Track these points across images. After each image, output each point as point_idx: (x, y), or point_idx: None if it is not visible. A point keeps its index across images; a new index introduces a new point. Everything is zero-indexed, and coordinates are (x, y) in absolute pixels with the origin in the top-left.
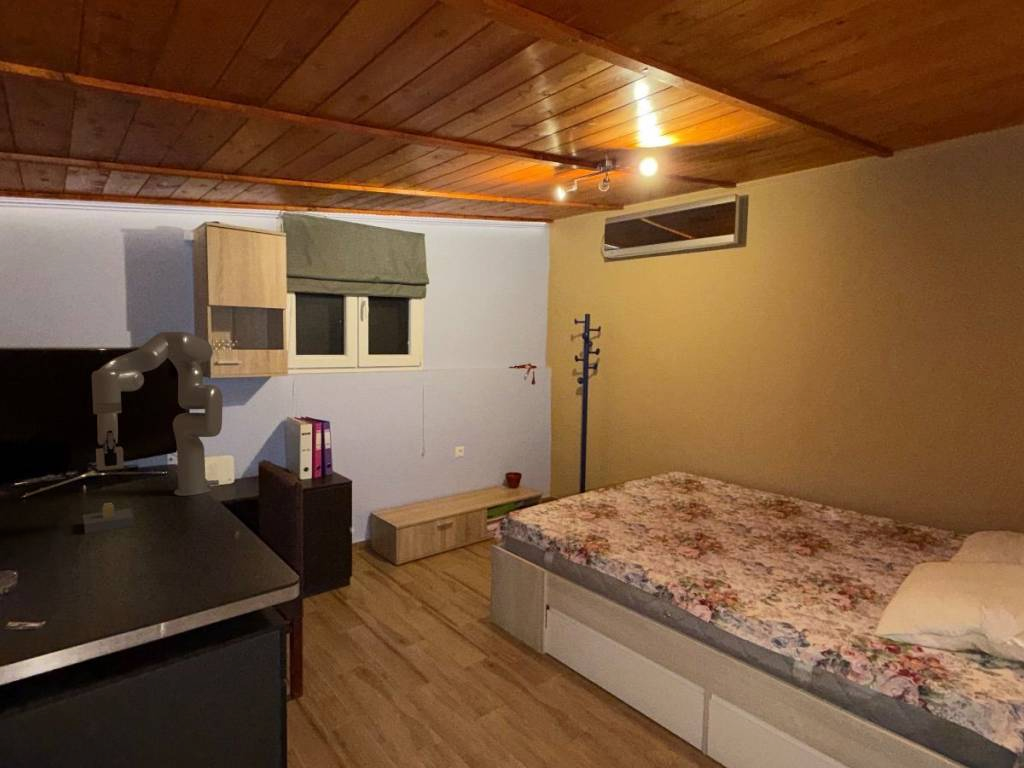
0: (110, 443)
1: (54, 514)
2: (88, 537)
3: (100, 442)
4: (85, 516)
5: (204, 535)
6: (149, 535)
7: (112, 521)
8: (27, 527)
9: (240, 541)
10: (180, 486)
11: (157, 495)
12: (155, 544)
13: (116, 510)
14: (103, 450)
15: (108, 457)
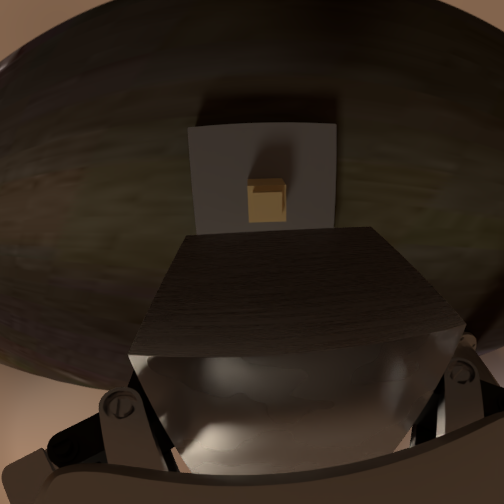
0: (13, 475)
1: (478, 90)
2: (155, 139)
3: (42, 487)
4: (308, 128)
5: (76, 347)
6: (104, 274)
7: (194, 204)
8: (386, 12)
9: (42, 367)
10: (458, 353)
11: (481, 302)
12: (45, 276)
13: (332, 220)
14: (212, 410)
15: (135, 372)
